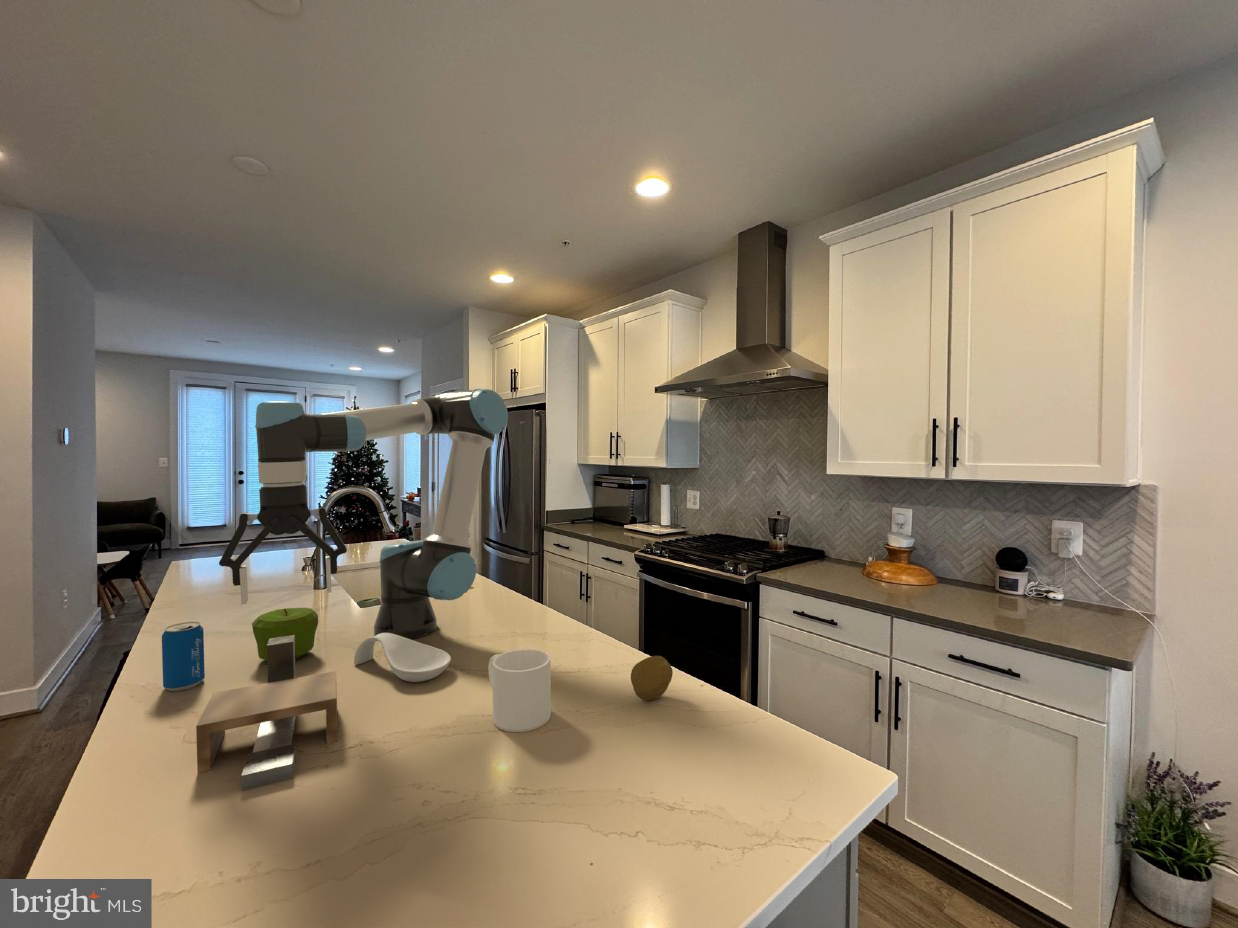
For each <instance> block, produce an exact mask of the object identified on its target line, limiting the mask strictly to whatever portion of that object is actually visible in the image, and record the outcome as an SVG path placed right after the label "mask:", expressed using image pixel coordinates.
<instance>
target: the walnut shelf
mask: <svg viewBox="0 0 1238 928" xmlns="http://www.w3.org/2000/svg"><path fill="white" fill-rule="evenodd" d="M337 688H338V687H337V670H334V671H329V672H323V673H319V674H318V673H317V674H311V675H307V676H306V675H305V676H300V677H295V678H294V679H288V680H283V681H277V682H271V683H268V682H267V683H261V684H254V685H250V686H249V685H248V686H245V687H244V686H243V687H238V688H232V689H227V690H222V691H221V690H220V691H216V692H213V693H211V696H210V698H209V700H208V702H207V704H206V706H205V708H204V710H203V712H202V714H201V715H200V718H199V720H198V721H197V723H196V726H195V729H196V731H195V733H196V735H195V736H196V763H197V765H196V766H197V767H196V769H197V770H196V771H197V772H196V773H197V774H200V773H201V774H202V773H206V772H210V771H211V769H212V767H213V765H214V762H215V759H216V756H217V754H218V752H219V749H220V746H221V744H222V741H223V738H224V736H225V734H226V731H228V730H229V731H230V730H233V729H237V728H242V727H247V726H252V725H258V724H261V723H263V722H268V721H272V720H277V719H282V718H287V717H292V716H296V717H298V716H301V715H306V714H310V713H316V712H319V711H325V722H326V723H325V725H326V734H325V735H326V744H330V743H335V742H337V741H338V697H337V696H338V695H337V694H338V693H337V692H338V691H337Z"/></svg>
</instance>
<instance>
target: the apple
mask: <svg viewBox="0 0 1238 928" xmlns="http://www.w3.org/2000/svg"><path fill="white" fill-rule="evenodd" d="M318 625H319V615H318V613H317V612H316V611H315V610H313V609H312V608H309V607H287V608H278V609H274V610H271V611H267V612H265V613H263V614H260V615H259V616H258V617H257V618H256V619H254V620H253V621H252V623H251V626H252V633H253V636H254V639H255V642H256V645H257V647H256V648H257V655H258V658H259V659H261V660H264V661H267V644H268V641H269V639H270V638H277V637H284V636H291V635H295V660H296V659H297V660H298V659H299V658H301V657H302V656H304V655H306V654H307V653H309V652H310V651H312V649H313V648H314V647H315V636H316V633H317V628H318Z"/></svg>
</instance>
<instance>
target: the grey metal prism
mask: <svg viewBox="0 0 1238 928" xmlns="http://www.w3.org/2000/svg"><path fill="white" fill-rule="evenodd" d="M266 661H267V664H266V665H267V683H271V682H277V681H283V680H288V679H294V678H296V659H295V635H291V636H284V637H277V638H270V639H269V641H268V644H267V660H266ZM296 719H297V716H292V717H287V718H282V719H277V720H272V721H268V722H263V723H259V724H260V725H259V728H258V730H257V731H258V732H257V735H256V739H255V742H254V746H253V750H252V753H255V752H259V751H264V750H268V749H273V748H277V747H282V746H286V745H291V744H293V738H294V731H295V725H296Z"/></svg>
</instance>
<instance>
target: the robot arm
mask: <svg viewBox="0 0 1238 928" xmlns="http://www.w3.org/2000/svg"><path fill="white" fill-rule="evenodd" d="M507 407H508V406H507V405H506V404H505V401H504V399H503V398H502V396H501V395H500V394H499V393H498V392H497V391H495V390H493V389H489V388H488V389H487V388H486V389H485V388H484V389H483V388H475V389H468V390H458V391H448V392H444V393H439V394H436V395H431V396H427V397H423V398H422V397H421V398H415V399H413V400H411V401H410V403H403V404H396V405H388V406H387V405H385V406H379V407H378V406H376V407H369V408H361V409H354V410H343V411H342V410H341V411H334V412H333V411H332V412H327V413H319V414H318V413H317V414H315V413H312V414H311V413H308V412H305V410H304V407H303V404H302V403H300V402H294V401H263V402H260V403H258V404H257V406H256V411H255V412H256V413H255V425H254V426H255V427H254V428H255V430H256V446H257V457H258V458H257V471H258V484H260V485H262V486H261V487H260V488H258V489H259V490H258V491H259V493H258V494H259V512H258V513H252V512H251V513H249V512H247V511H244V512H242V513H241V514H239V518H238V527H237V529H236V530H235V532H234V534H233V536H232V538H231V539H230V541H229V543H228V545H227V547H226V549H225V551H224V552H223V554H222V556H221V558H220V560H219V562H218V564H219V566H220V567H227V568H230V569H231V574H232V584H233V586H234V587H237V586H239V587H240V605H247V604H248V601H249V592H248V590H249V589H248V588H249V587H248V573H247V572H248V570H247V569H248V568H247V567H248V566H247V565H246V564H245V565H242V564H243V563H244V562H245V561H246V560H247V558H249V556H250V555H252V553H253V552H254V551H255V550H256V549H257V548H258V547H259V545H260V544H261V543H262V542H263V541H264V539H265V538H267V536H268V535H269V534H271V535H275V536H281V535H284V534H287V535H293V534H297V533H298V532H301V533H302V534H303V535H304V536H306V537H307V538H308V539H309V540H310V541H312V543H314V544H315V545H316V546H317V547H318V548H319V549H320V550H321V551H323V552H324V554H326V555H327V556H325V571H326V572H325V575H326V593H328V594H329V593H332V575H336V574H337V573H338V557H339V556H340V555H343V554H346V553H347V551H348V549H347V546H346V544H345V543H344V541H343V540H342V539H341V537H340V535H339V534H338V532H337V530H336V529H335V527H334V526H333V524H332V523H331V521H330V520H329V518H328V515H327V513H328V512H327V509H326V507H324V506H320V507H319V508H315V509H309V506H308V491H307V487H308V486H306V484H304V483H305V482H306V481H307V469H306V468H307V467H306V464H307V463H306V453H313V452H314V453H321V452H322V453H324V452H325V453H326V452H344V453H347V452H353V451H359V450H360V449H362V448H363V446H364V445H365V443H366V441H371V440H377V439H378V440H379V439H383V438H389V437H395V436H401V435H407V434H413V433H416V434H417V435H420V436H423V435H425V436H426V435H433V434H434V435H435V434H439V435H441V434H442V435H447V436H448V437H449V439H450V440H451V442H452V443H451V448H450V453H449V457H448V461H447V465H446V469H445V473H444V478H443V482H442V488H441V491H440V495H439V500H438V505H437V509H436V514H435V517H434V523H433V527H432V531H431V533H430V535H428V536H426V537H425V538H424V539H421V540H412V541H405V542H397V543H393V544H388V545H387V544H386V545H384V546H383V547H382V548H381V550H380V556H379V565H380V567H379V568H380V572H379V573H380V606H379V610H378V613H377V616H376V619H375V622H374V624H373V625H374V626H373V634H374V636H376V635H378V634H380V633H391V634H395V635H398V636H401V637H404V638H407V639H410V640H413V639H416V638H420V637H423V636H427V635H428V634H431V633H433V632H434V631H435V630H436V629H437V625H438V624H437V623H438V622H437V616H436V613H435V611H434V607H433V605H432V602H431V600H430V599H431V598H432V599H433V600H436V601H437V600H440V601H454V600H457V599H459V598H461V597H463V596H464V594H465V593H468V591H469V590H470V589H471V587H472V586H473V584H474V581H475V579H476V575H477V565H476V564H475V562H476V561H475V559H474V558H473V557H472V556H471V551H472V546H471V544H470V542H469V541H468V535H469V531H470V526H471V521H472V515H473V512H474V507H475V502H476V497H477V493H478V489H479V483H480V478H481V475H482V469H483V465H484V461H485V456H486V451H487V449H489V448H490V447H491V446H493V445H494V441H495V438H496V435H498V434H499V433H501V432H503V430H505V429H506V426H507V425H508V420H509V412H508V408H507ZM311 516H312V517H314V518H315V520H317V521H320V522H321V524H322V526H323V527H324V529H325V531H326V532H327V534H328V535H329V537H330V538H331V540H332V541H333V543H334V545H335V546H336V548H333V546H331V545H330V544H329V543H328V542H327V541H326V540H324V539H323V538H322V537H321V536H320V535H319V534H318V533H317V532H315V531H314V530H313V528H311V527H310V526H309V525H308V524H307V521H308V520H309V519H310V517H311ZM256 520H257V521H258V522H259V523H260V524H261V525H262V526H263V528H262V529H261V531H260V532H258V534H257V535H256V537H255V538H253V540H251V542H250V543H249V544H248V545H247V546H246V547H245V548H244V550H243V551H242V552H241V553H240V554H239V555H238V556H237V557H236V559H234V558H232V557H233V555H234V553H235V551H236V550H237V548H238V546H239V544H240V542H241V540H242V538H243V536H244V534H245V532H246V531H247V528H248V527H249V526H251V525H253V523H254V521H256ZM374 636H373V637H374Z"/></svg>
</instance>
